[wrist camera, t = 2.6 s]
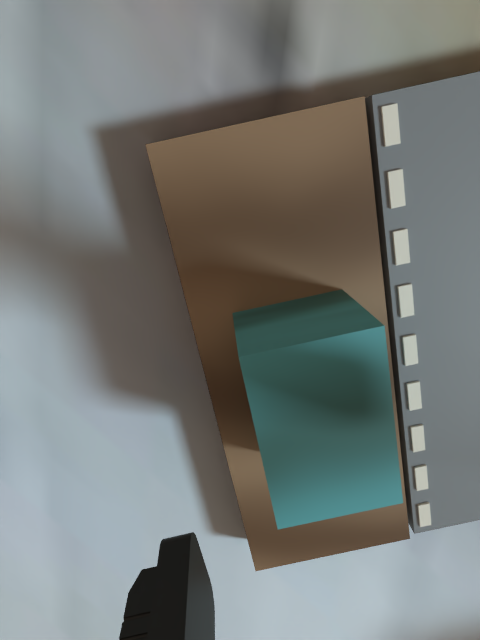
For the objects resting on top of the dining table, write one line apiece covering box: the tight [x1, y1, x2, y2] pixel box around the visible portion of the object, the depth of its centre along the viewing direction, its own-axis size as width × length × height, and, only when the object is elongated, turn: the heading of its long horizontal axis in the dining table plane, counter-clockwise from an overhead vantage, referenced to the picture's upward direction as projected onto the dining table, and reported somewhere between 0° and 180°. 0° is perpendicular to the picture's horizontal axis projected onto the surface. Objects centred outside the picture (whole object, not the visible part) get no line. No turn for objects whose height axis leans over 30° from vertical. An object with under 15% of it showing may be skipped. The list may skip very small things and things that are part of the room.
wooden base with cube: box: [145, 96, 410, 571], centre depth 15 cm, size 18×7×6 cm, turn 12°
